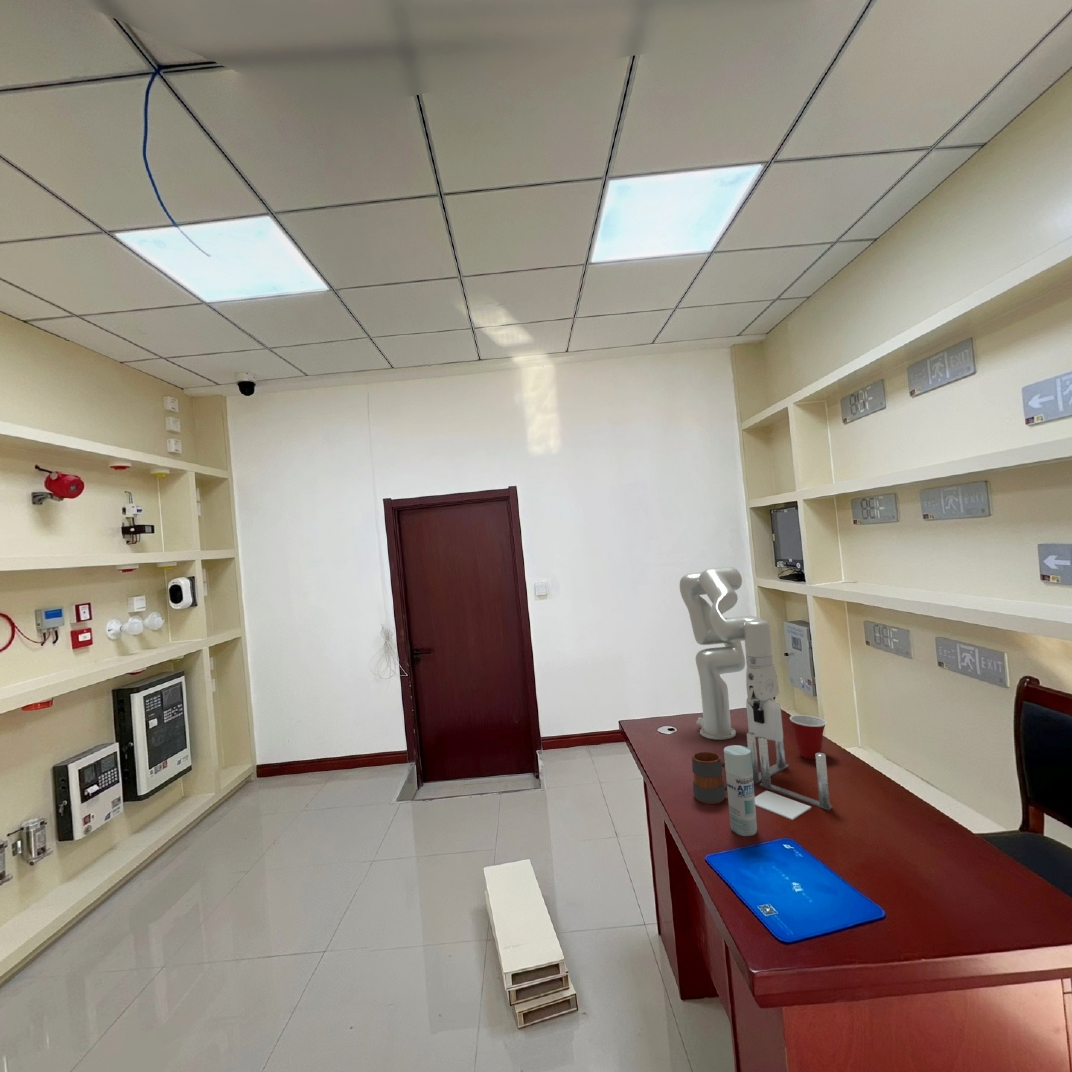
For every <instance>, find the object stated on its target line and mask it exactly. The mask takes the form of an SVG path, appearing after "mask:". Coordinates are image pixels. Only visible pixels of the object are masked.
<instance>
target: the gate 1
mask: <svg viewBox="0 0 1072 1072" xmlns="http://www.w3.org/2000/svg"><path fill="white" fill-rule="evenodd" d="M756 739H757V737H755V733H752V732H749V731H748V732H746V742H747V743H746V744H747V748H749V749H750V750H751V757H752V770H753V783H754V784H758V783H759V784H760V782H762V779H761V771H760V772H759V762H758V750H757V740H756ZM774 742H775V744H774V745H775V755H776V763H775V764H773V765H771V766H769V768H770V777H771V776H773V775H775V774H777V773H779V772H781V771H784V769H787V768H788V767H789V764H788V763H786V754H785V753H786V752H785V743H784V739H783V740H782V741H779V742H778V741H774Z"/></svg>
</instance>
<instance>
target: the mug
mask: <svg viewBox="0 0 1072 1072" xmlns="http://www.w3.org/2000/svg"><path fill="white" fill-rule="evenodd" d="M691 763H692V765H691V766H692V773H693V780H692V781H693V782H692V786H693V787H692V789H693V790H692V791H693V796H694V797H695V799H696V801H698V802H700V803H702V804H705V805H706V804H707V805H718V804H721V803H722V802H723V801H724V800H725V798H726V792H728V791H727V783H726V784H725V782H724V780H723V768H725V761H722V758H721V756H720V755H719V754H717V753H715V752H710V751H699V752H696V753H694V754H693V755H692V756H691Z"/></svg>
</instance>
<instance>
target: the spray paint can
mask: <svg viewBox="0 0 1072 1072" xmlns="http://www.w3.org/2000/svg"><path fill="white" fill-rule="evenodd" d="M723 756H724V762H725V767H724V768H725V778H726V784H727V791H726V792H727V800H728V810H729V811H728V813H729V822H730V828H731V829H730V831H732V833H734V834H735V835H739V836H742V837H752V836H754V835H756V834H757V832H758V824H757V811H756V810H757V809H756V806H755V797H756V795H755V783H753V770H752V757H751V750H750V749H749V748H748V746H744V745H738V744H737V745H736V744H734V745H728V746H725V747H724V749H723Z"/></svg>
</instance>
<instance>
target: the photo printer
mask: <svg viewBox="0 0 1072 1072" xmlns="http://www.w3.org/2000/svg"><path fill="white" fill-rule="evenodd" d="M755 699H757V698H755ZM756 703H757V704H758V701H756ZM745 704H746V705H745V706H746V713H747V714H746V717H747V727H748V732H752V733H755V737H756V738H759V737H766V738H767V741H768V740H770V741H774V742H775V741H778V742H779V741H782V740H783V741H784V730H783V728H784V727H783V721H782V720H783V719H782V718H783V717H782V708H781V704H780V702H779V701H777V700H776V699H775V700H773V699H768V700H766V701H762V710H763V711H764V723H763V724H761V723H758V722H755V721H754V715H753V709H752V707H751V706H750V704H748V703H747V701H746V703H745Z"/></svg>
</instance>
